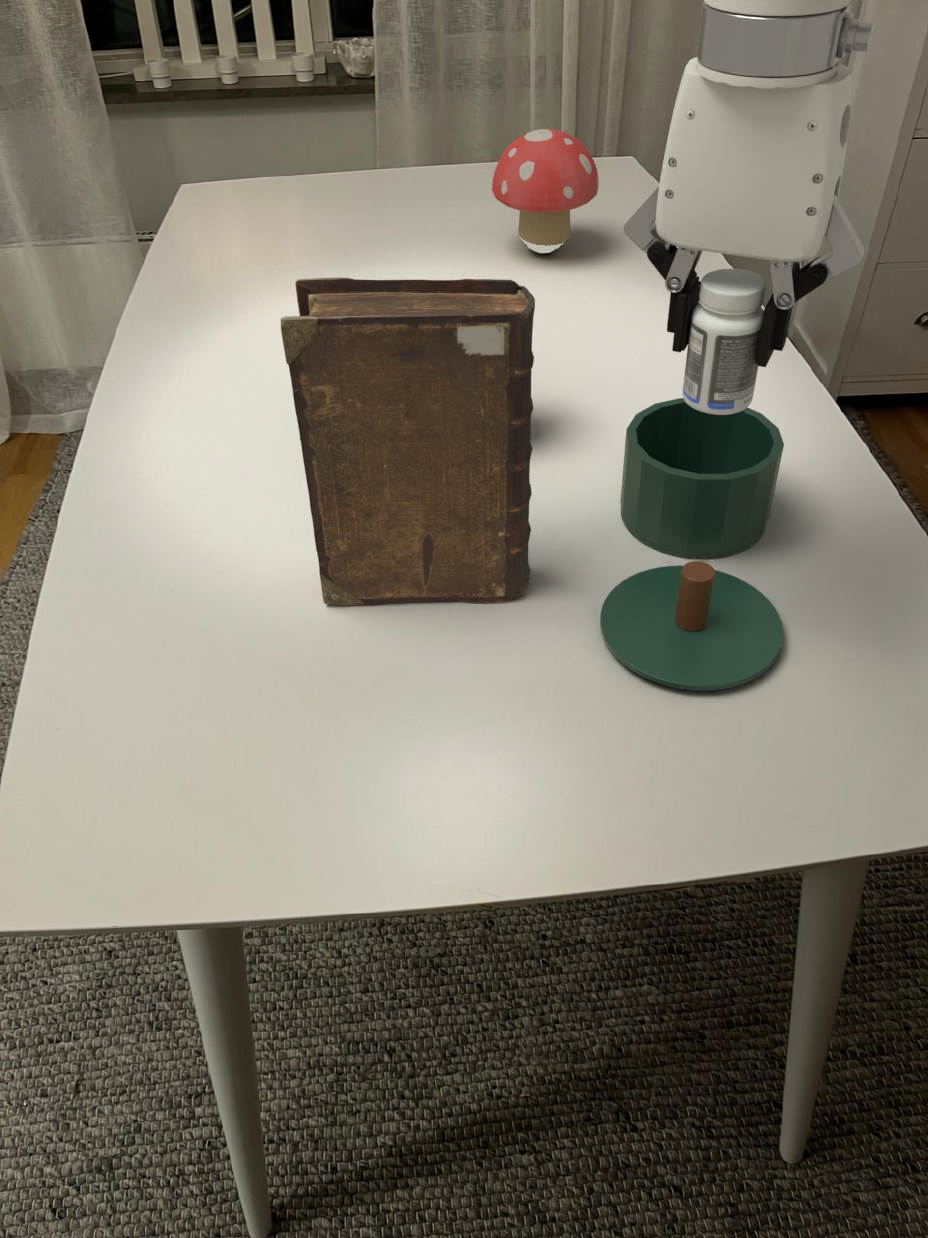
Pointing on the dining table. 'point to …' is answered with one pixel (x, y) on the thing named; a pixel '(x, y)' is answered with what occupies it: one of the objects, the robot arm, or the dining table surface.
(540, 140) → the decorative mushroom
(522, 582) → the book
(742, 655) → the tin lid
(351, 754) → the dining table surface
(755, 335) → the pill bottle
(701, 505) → the tin
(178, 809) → the dining table surface
